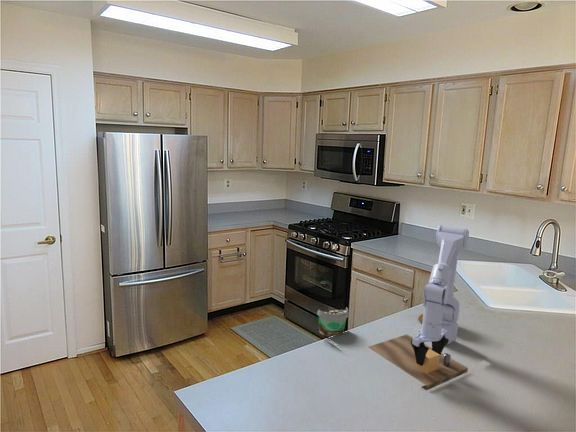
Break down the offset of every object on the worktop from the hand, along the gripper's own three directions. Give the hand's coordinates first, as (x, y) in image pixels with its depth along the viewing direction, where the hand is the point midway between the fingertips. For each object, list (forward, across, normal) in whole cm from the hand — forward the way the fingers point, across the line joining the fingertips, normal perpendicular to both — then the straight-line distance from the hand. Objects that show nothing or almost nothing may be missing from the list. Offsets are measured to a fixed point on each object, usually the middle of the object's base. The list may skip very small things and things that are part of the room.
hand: (427, 361), depth 123 cm
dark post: (+4, -7, +2) cm, 8 cm away
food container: (+4, +12, -32) cm, 34 cm away
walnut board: (+4, -2, -6) cm, 7 cm away
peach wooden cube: (+2, 0, 0) cm, 2 cm away
